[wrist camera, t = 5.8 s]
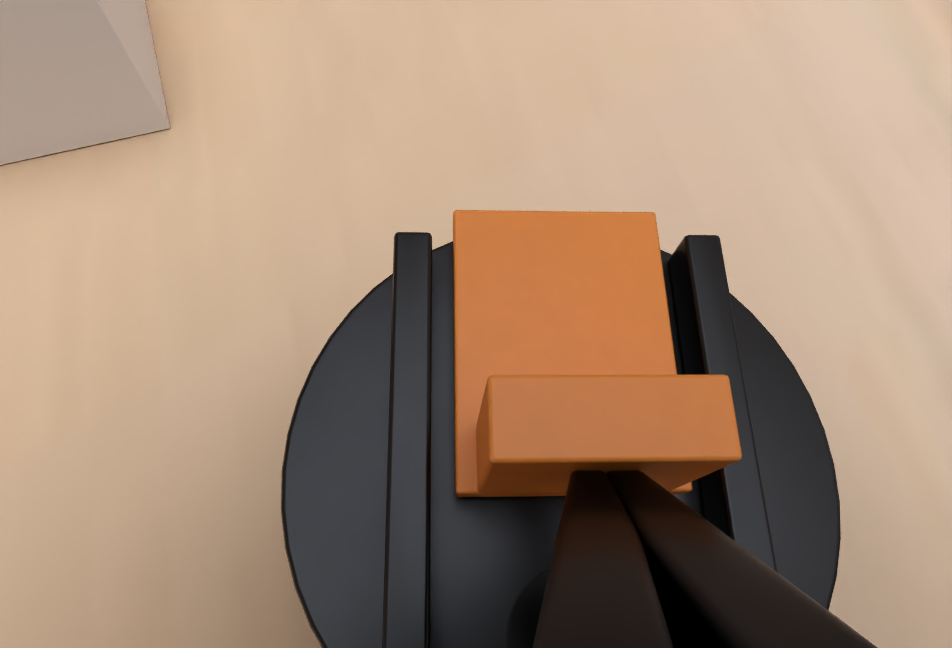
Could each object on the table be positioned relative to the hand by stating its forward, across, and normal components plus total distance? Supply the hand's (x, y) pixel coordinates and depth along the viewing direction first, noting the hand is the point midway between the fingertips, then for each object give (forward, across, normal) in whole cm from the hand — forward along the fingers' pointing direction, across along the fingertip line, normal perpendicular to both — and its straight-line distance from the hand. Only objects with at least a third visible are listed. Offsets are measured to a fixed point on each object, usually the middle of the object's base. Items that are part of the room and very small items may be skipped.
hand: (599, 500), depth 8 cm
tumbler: (+8, 0, +7) cm, 10 cm away
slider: (+3, 0, -1) cm, 3 cm away
